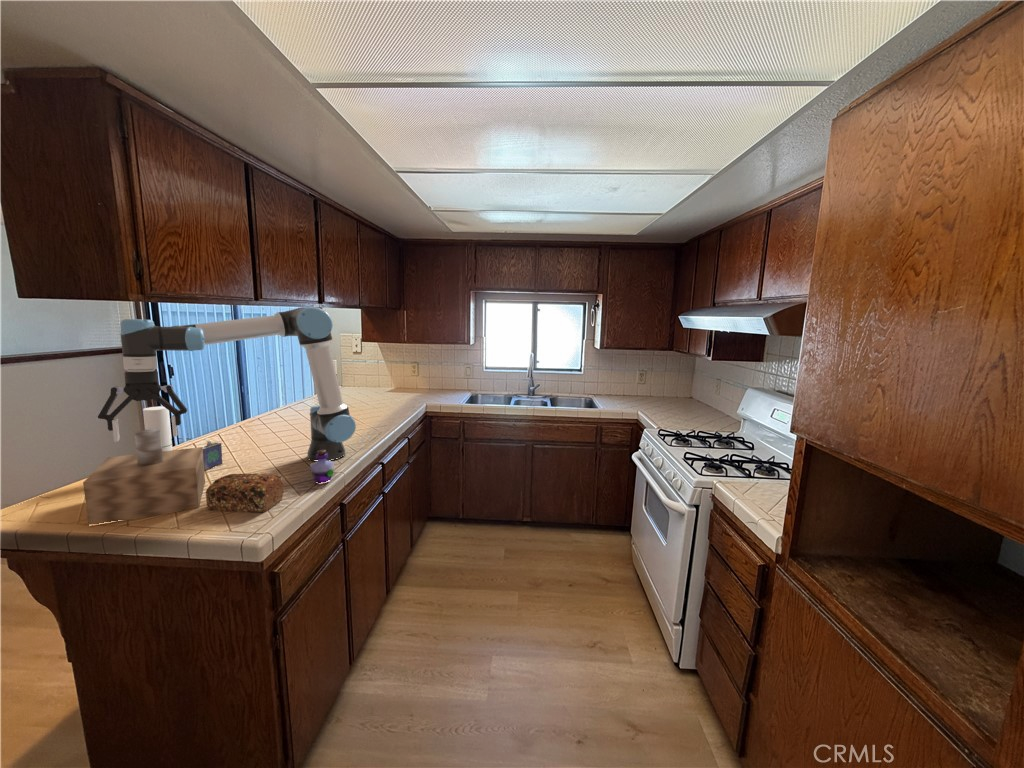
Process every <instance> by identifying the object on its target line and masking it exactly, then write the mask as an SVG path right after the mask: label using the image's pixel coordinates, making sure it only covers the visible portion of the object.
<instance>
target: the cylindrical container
mask: <svg viewBox="0 0 1024 768" xmlns="http://www.w3.org/2000/svg"><path fill="white" fill-rule="evenodd" d="M142 413H143V414H142V415H143V421H144V422H143V424H144V425H143V426H144V430H148V429H159V430H160V431H161V442H162V451H171V450H174V449H173V440H172V438H173V437H172V429H171V428H172V427H171V418H170V417H171V416H170V411H169V410H168V409H166V408H165V407H164V406H162V405H161V406H160V405H159V406H149V407H145V408H142Z"/></svg>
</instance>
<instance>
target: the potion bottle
mask: <svg viewBox="0 0 1024 768" xmlns="http://www.w3.org/2000/svg"><path fill="white" fill-rule="evenodd" d="M326 458H328V453H326V450H319V451H317V454H316V459H318V461H316V462H315V461H313V462H311V463H310V464H309V465H310V466H309V468H310V472H311V476H313V479H314V483H315V482H318V483H321V482H326V481H328V480H331V478H332V475H333V474H334V467H335V460H333V461H329V460H326ZM331 481H332V480H331Z"/></svg>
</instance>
